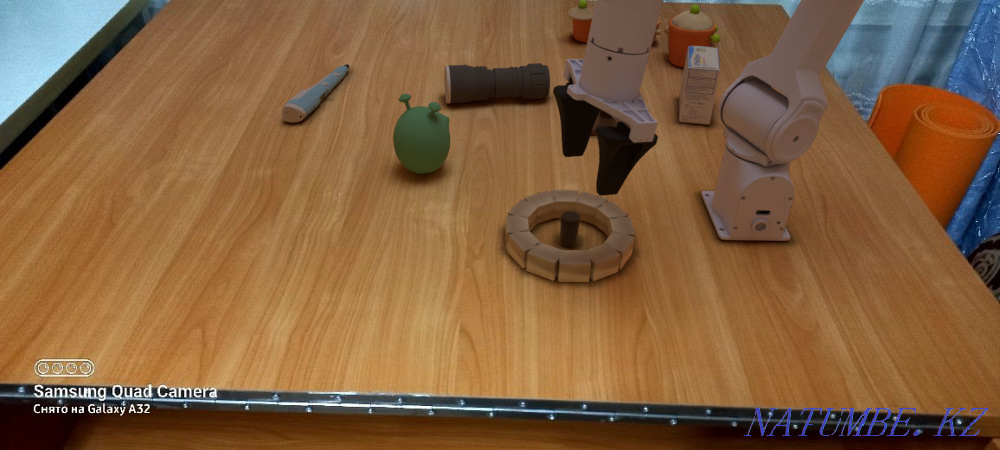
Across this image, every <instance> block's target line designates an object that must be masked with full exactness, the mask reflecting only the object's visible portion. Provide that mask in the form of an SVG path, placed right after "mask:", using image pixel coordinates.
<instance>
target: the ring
mask: <svg viewBox="0 0 1000 450" xmlns="http://www.w3.org/2000/svg"><path fill="white" fill-rule="evenodd" d="M567 211H572V212H576V213H577V214H579V216H580V221H581V222H585V223H587V224H591V225H594V226H595V227H596V228H597V229H599V230H600V231H601V232H602V233H603V234H605V235H606V236H607V239H606V240H605V241H604V242H603V243H601V244H598V245H595V246H592V247H590V248H588V249H561V248H557V247H555V246H552V245H549V244H546V243H543V242H541V241H540V239H538V238H537V236H536V235H534V234H533V233H532V232H531V231H532V230H533V229H534V228H535V227H536V226H537V225H539V224H542V223H544V222H548V221H551V220H553V219H561V215H562V214H563V213H564V212H567ZM633 224H634V223H633V220H632V217H631V216H629V214H628V212H626V211H625V210H624V209H622V208H621V207H620V206H619V205H617V204H616V203H615V202H614V201H612V200H610V201H609V198H606V197H604V196H600V195H597V194H594V193H590V192H587V191H584V190H582V191H581V192H579V189H551V190H550V191H549V190H544V191H540V192H537V193H534V194H530V195H528V196H524V197H523V199H522V198H521V199H520V200H519V201H518V202H517V203H516V204H514V205H513V207H512V208H511V209H510V210H509V211H508V212H507V214H506V215H505V250H507V254H508V255H509V256H510V257H511V258H512V259H513V260H514V261H515V262H516V263H517V264H518V265H519V266H520V267H521V269H526V272H528V273H531V274H533V275H536V276H538V277H542V278H545V279H547V280H550V281H552V282H554V281H555V280H556V279H557V282H558V283H589V282H590V280H591V281H592V282H596V281H598V280H601V279H604V278H606V277H609V276H611V275H614V274H617V273H618V272H619V270H620V271H621V270H622V269H623V267H624V266H625V265H626V263H627V262H628V260H629V259H630V257H631V256H632V254H633V250H634V243H635V238H636V232H635V228H634V225H633Z"/></svg>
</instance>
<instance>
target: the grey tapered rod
mask: <svg viewBox="0 0 1000 450" xmlns="http://www.w3.org/2000/svg"><path fill="white" fill-rule="evenodd" d="M349 69H350V64H349V63H348V64H347V63H346V64H343V65H340V66H338V67H336V68H335V69H333V70H332V71H331V72H330V73H328V74H327V75H326V76H324V77H323V78H321V79H320V80H318V82H316V83H315V84H313V85H311V86H309V87H307V88H302V89H300V91H298V92H296V94H295V95H294V96H292V97H291V98H290V99H289V100H288V101H287V102H286V103H284V105H283V107H282V111H281V117H282V119H283V120H284V121H285V122H288V123H298V122H301V121H303V120H304V119H305V118H307V117H308V116H309V115H310V114H311V113H312V112H313V111H314V110H315V109H316V108H317V107H318V106H319V105H320V103H321V102H322V101H323V100H324V99H325V98H326V96H328V94H330V93H331V91H332V90H333V89H334V88H335V87H336V86H337V85H338V84H339V83H340V82H342V80H343V79H344V78H345V76H346V75H347V73H348V72H349Z"/></svg>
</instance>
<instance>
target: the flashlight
mask: <svg viewBox="0 0 1000 450" xmlns="http://www.w3.org/2000/svg"><path fill="white" fill-rule="evenodd" d="M443 72H444V73H443V80H444V81H443V82H444V83H443V84H444V96H445V103H446V104H465V103H470V102H475V101H478V102H479V101H487V100H489V98H491V97H493V98H519V97H520V98H521V99H522V98H523V99H524V98H526V99H528V100H542V99H543V98H548V97H549V95H550V91H551V75H550V69H549V66H548V65H547V64H544V65H543V63H541V62H535V63H534V62H532V63H528V64H527V65H520V66H510V67H493V68H492V69H491V68H488V67H487V66H486V65H483V66H482V65H479V66H478V65H476V66H472V65H468V64H453V65H452V64H450V65H444V69H443Z"/></svg>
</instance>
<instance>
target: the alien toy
mask: <svg viewBox="0 0 1000 450" xmlns="http://www.w3.org/2000/svg"><path fill="white" fill-rule="evenodd" d="M411 98H412V95H411V94H410V93H401V94H400V96H399V97H398V102H401V103H404V105H405V108H406V110H405V111H404V112H403V113H402V114H401V115H400V116H399V117H398V119H397V121H396V123H395V125H394V130H393V134H392V141H393V142H392V143H393V149H394V152H395V155H396V157H397V159H398V161H399V162H400V163H401V165H402V166H403V167H404V168H405V169H406V170H408V171H410V172H412V173H415V174H419V175H420V174H421V175H423V174H424V175H425V174H430V173H432V172H435V171H437V170H438V169H439V168H440V167H442V165H443V164H444V163H445V162H446V160H447V158H448V156H449V152H450V149H451V133H450V117H449V116H447V115H445V114H442V113H441V112H440V111H441V110H442V105H441V104H439V103H438V102H437V101H432V102H429V103H428V106H425V105H424V106H423V105H418V106H413V107H411V105H410V103H409V102H410V100H411Z"/></svg>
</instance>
